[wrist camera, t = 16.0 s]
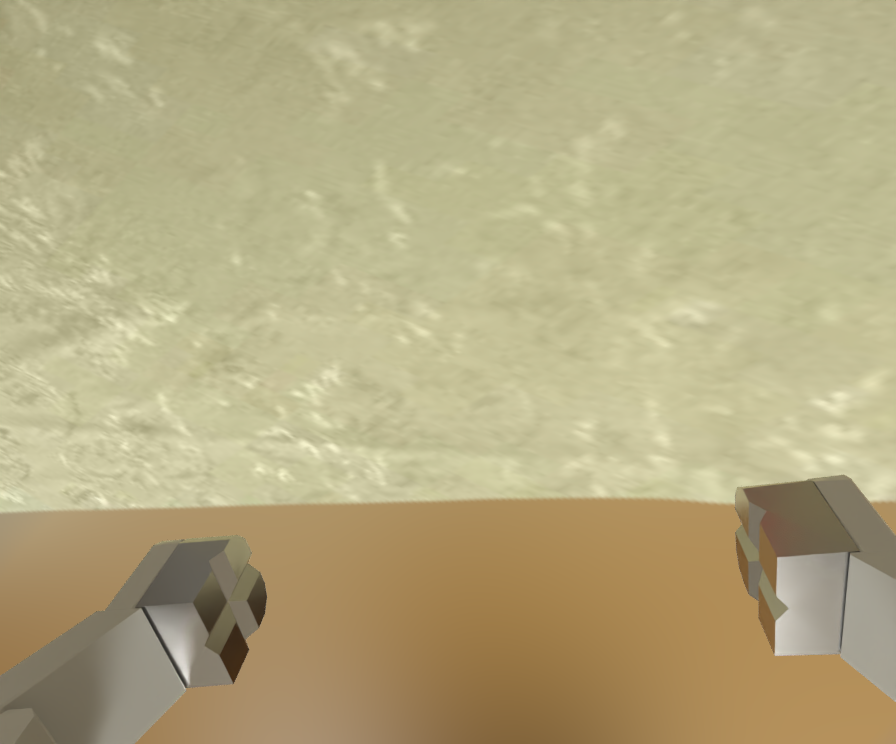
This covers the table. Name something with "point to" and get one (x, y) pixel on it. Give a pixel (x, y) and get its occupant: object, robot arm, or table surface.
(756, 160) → the table surface
